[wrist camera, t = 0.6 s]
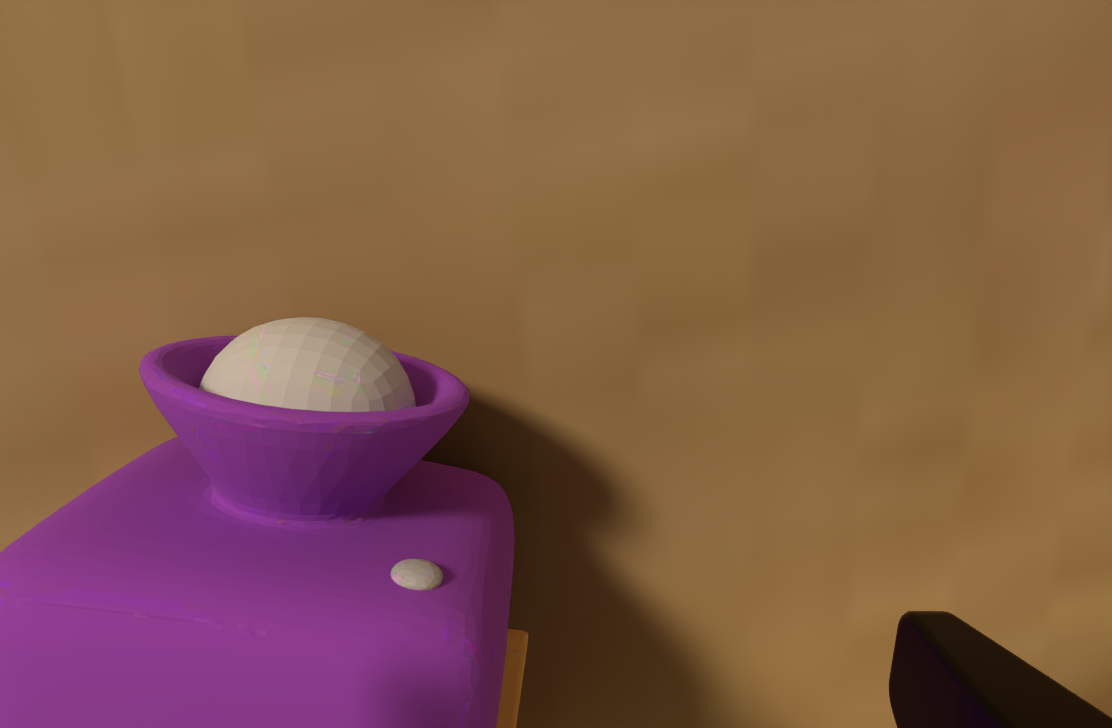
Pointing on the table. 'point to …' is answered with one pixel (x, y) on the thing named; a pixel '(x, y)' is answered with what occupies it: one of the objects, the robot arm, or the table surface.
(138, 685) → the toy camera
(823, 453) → the table surface
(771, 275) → the table surface
